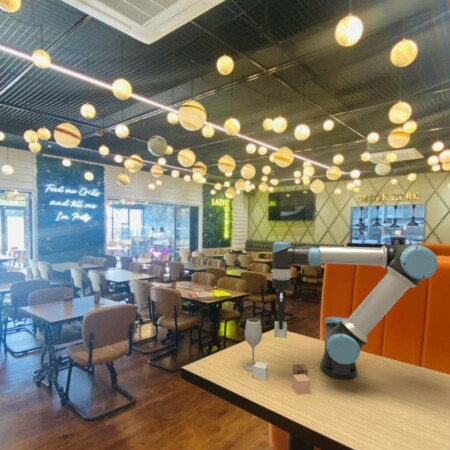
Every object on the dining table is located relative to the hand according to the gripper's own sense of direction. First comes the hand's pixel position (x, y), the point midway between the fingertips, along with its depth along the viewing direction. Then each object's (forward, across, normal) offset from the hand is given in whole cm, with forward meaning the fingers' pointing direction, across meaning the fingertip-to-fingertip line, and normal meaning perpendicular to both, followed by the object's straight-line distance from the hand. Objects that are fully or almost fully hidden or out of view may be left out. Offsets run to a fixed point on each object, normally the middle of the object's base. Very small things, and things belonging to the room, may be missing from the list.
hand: (280, 334), depth 127 cm
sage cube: (0, 0, 0) cm, 0 cm away
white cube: (+18, +2, -8) cm, 20 cm away
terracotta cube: (+18, +9, +8) cm, 22 cm away
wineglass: (+18, -6, -12) cm, 22 cm away
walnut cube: (+18, 0, +8) cm, 20 cm away
